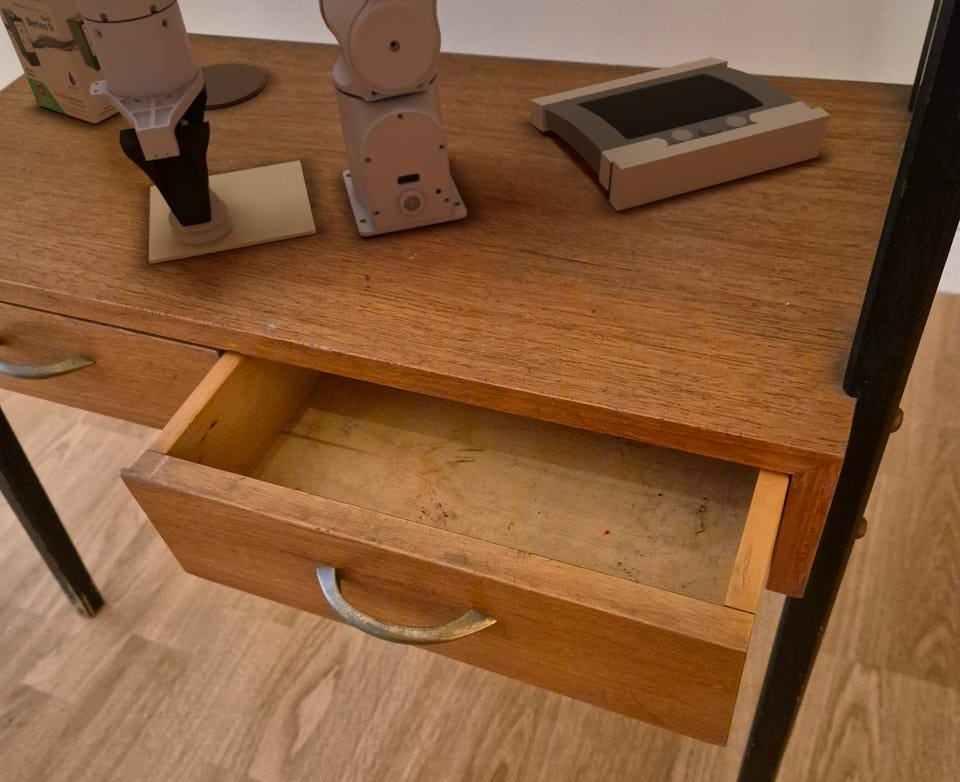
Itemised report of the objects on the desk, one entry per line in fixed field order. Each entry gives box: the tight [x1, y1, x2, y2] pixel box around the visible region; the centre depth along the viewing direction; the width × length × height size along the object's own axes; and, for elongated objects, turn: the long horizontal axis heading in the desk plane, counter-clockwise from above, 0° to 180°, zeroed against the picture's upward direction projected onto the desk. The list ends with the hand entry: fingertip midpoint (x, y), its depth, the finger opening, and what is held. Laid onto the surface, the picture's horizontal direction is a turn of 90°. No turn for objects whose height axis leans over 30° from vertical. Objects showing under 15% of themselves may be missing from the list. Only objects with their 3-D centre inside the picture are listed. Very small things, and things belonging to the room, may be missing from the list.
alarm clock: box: [529, 56, 831, 212], centre depth 69 cm, size 17×5×16 cm
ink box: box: [0, 0, 120, 124], centre depth 77 cm, size 9×5×12 cm, turn 56°
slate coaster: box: [200, 63, 266, 110], centre depth 82 cm, size 9×9×1 cm
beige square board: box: [148, 160, 317, 265], centre depth 67 cm, size 11×12×1 cm
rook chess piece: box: [168, 119, 233, 247], centre depth 61 cm, size 4×4×8 cm
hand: (196, 207), depth 63 cm, fingers closed on rook chess piece, 3 cm apart
